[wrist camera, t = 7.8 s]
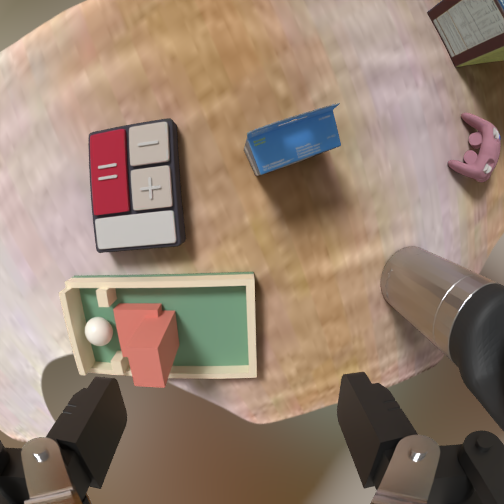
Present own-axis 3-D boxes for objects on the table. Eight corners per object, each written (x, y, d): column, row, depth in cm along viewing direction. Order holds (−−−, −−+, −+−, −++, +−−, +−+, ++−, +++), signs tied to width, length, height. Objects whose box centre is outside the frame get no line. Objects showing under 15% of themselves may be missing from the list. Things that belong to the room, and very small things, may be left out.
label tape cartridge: (254, 178, 38) (261, 176, 26) (242, 148, 37) (244, 133, 25) (321, 153, 38) (356, 142, 26) (310, 124, 37) (340, 101, 25)
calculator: (171, 115, 33) (180, 247, 35) (178, 124, 37) (186, 242, 40) (85, 131, 33) (93, 254, 35) (99, 137, 37) (107, 248, 39)
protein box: (505, 60, 34) (562, 43, 19) (454, 68, 35) (519, 41, 20) (480, 10, 32) (530, -17, 17) (424, 11, 33) (478, -30, 18)
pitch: (253, 271, 40) (255, 284, 36) (255, 365, 44) (257, 386, 39) (74, 275, 40) (57, 286, 35) (93, 362, 43) (81, 379, 38)
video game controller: (455, 178, 40) (493, 189, 34) (444, 165, 38) (485, 176, 32) (470, 124, 38) (507, 132, 33) (460, 108, 36) (499, 115, 30)
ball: (88, 326, 35) (78, 317, 38) (94, 354, 36) (84, 343, 39) (114, 318, 38) (102, 310, 41) (120, 345, 39) (108, 335, 42)
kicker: (174, 303, 40) (155, 339, 30) (180, 350, 41) (166, 394, 31) (118, 303, 39) (88, 336, 30) (127, 349, 41) (103, 389, 31)
